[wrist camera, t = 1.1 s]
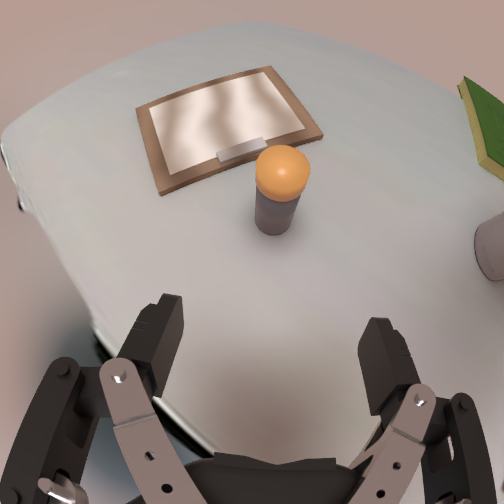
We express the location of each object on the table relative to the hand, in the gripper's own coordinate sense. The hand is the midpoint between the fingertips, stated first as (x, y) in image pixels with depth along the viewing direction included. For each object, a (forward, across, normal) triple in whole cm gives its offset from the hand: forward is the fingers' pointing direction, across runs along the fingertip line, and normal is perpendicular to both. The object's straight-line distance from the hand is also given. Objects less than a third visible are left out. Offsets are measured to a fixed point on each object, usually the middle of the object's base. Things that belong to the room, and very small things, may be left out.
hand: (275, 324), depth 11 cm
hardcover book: (+40, -47, -15) cm, 63 cm away
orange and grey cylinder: (+21, 0, +4) cm, 21 cm away
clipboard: (+31, +8, -6) cm, 32 cm away
